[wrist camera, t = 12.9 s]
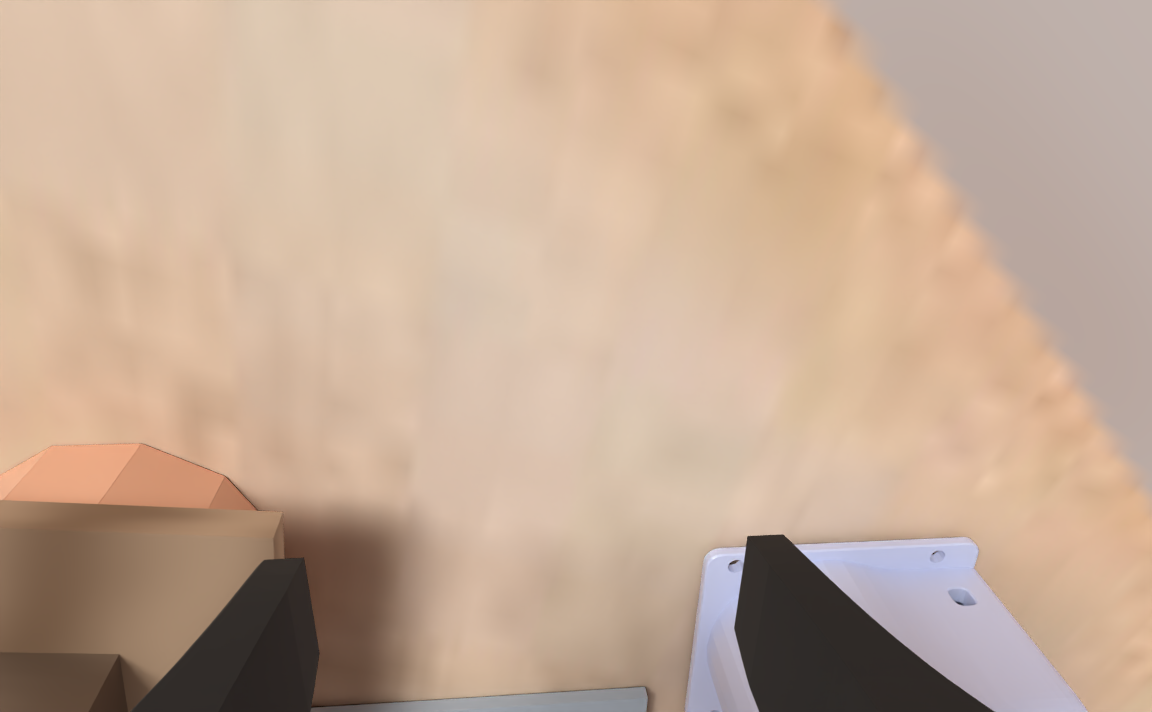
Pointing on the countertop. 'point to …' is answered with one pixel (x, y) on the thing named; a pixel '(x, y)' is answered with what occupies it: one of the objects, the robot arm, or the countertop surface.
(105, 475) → the terracotta bowl
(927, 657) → the robot arm
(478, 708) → the rubber mat
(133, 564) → the cover board
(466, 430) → the countertop surface
